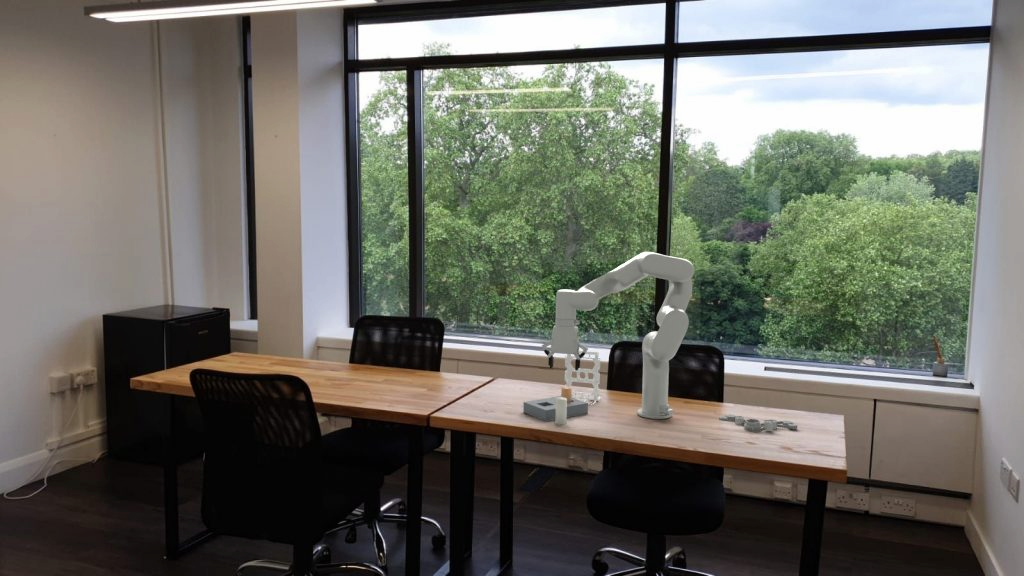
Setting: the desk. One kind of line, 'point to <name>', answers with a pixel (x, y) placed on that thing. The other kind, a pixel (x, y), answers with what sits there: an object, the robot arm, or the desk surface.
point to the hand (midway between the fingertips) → (564, 368)
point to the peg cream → (561, 411)
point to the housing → (553, 408)
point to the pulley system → (758, 423)
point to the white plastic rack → (586, 380)
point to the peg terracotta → (567, 393)
